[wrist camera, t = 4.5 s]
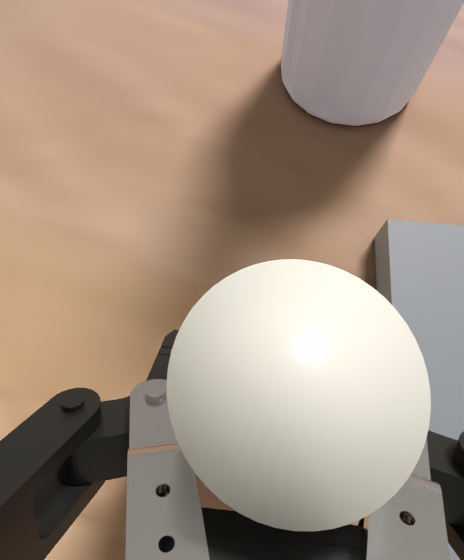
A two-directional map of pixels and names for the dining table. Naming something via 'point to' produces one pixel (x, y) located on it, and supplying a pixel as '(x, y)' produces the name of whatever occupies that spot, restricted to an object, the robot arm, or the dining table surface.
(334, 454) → the cream rounded cylinder
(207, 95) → the dining table surface
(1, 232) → the dining table surface
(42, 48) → the dining table surface
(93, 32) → the dining table surface
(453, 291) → the rectangular recess board
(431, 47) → the soap bottle
